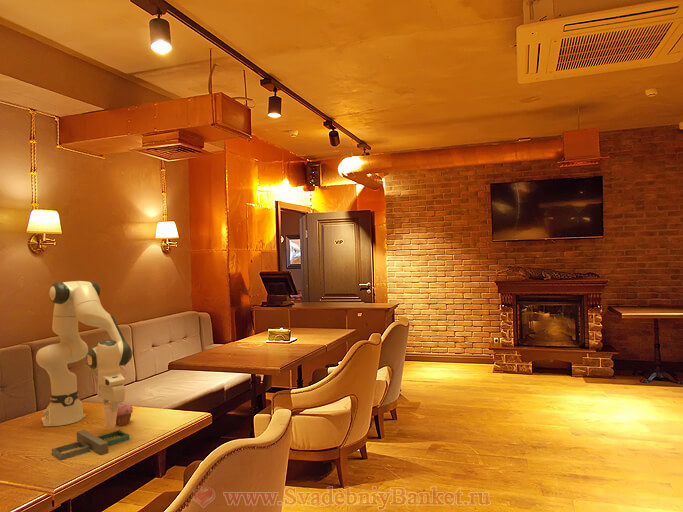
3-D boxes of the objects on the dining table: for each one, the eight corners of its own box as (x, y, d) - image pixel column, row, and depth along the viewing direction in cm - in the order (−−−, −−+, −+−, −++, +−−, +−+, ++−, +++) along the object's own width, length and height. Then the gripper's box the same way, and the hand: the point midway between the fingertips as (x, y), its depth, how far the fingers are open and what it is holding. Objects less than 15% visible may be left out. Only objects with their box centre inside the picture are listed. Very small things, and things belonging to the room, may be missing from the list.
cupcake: (109, 425, 229) (108, 404, 229) (126, 419, 236) (125, 399, 236) (120, 428, 224) (119, 406, 224) (137, 422, 231) (136, 401, 231)
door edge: (76, 440, 209) (76, 431, 209) (84, 438, 211) (83, 429, 211) (100, 455, 192) (100, 444, 192) (108, 452, 194) (107, 442, 194)
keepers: (51, 453, 195) (51, 449, 195) (119, 434, 215) (119, 430, 215) (60, 460, 188) (60, 455, 188) (129, 439, 208) (129, 434, 208)
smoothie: (111, 429, 203) (112, 395, 204) (98, 428, 205) (99, 394, 206) (121, 425, 209) (122, 392, 210) (109, 424, 211) (110, 391, 212)
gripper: (92, 376, 213) (93, 408, 212) (111, 382, 199) (113, 416, 198) (107, 373, 217) (108, 404, 217) (126, 379, 203) (128, 412, 203)
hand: (110, 410), depth 208 cm, fingers closed on smoothie, 6 cm apart
